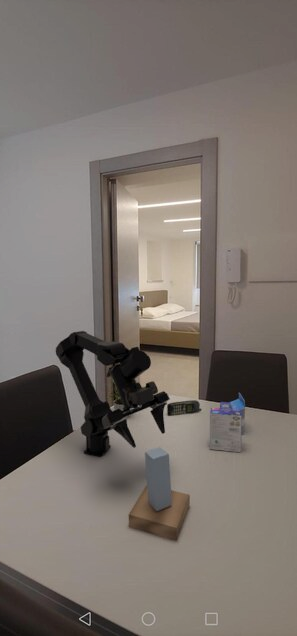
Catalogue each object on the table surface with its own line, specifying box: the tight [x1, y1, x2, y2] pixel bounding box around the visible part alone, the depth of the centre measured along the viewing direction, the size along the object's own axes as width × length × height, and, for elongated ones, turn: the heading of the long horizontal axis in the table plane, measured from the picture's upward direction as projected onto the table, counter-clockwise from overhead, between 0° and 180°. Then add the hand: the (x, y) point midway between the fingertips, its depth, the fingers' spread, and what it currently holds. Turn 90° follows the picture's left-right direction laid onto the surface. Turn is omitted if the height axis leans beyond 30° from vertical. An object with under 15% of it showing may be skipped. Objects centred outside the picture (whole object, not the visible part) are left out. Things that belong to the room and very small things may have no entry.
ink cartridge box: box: [209, 401, 242, 453], centre depth 103 cm, size 10×6×14 cm, turn 78°
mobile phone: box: [166, 399, 202, 417], centre depth 130 cm, size 5×3×15 cm
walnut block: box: [128, 484, 191, 542], centre depth 74 cm, size 11×11×4 cm
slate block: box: [144, 446, 172, 511], centre depth 73 cm, size 4×4×12 cm
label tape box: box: [228, 392, 246, 436], centre depth 115 cm, size 9×4×12 cm, turn 178°
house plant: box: [106, 376, 139, 420], centre depth 126 cm, size 14×14×16 cm
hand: (149, 440), depth 83 cm, fingers open, 9 cm apart
